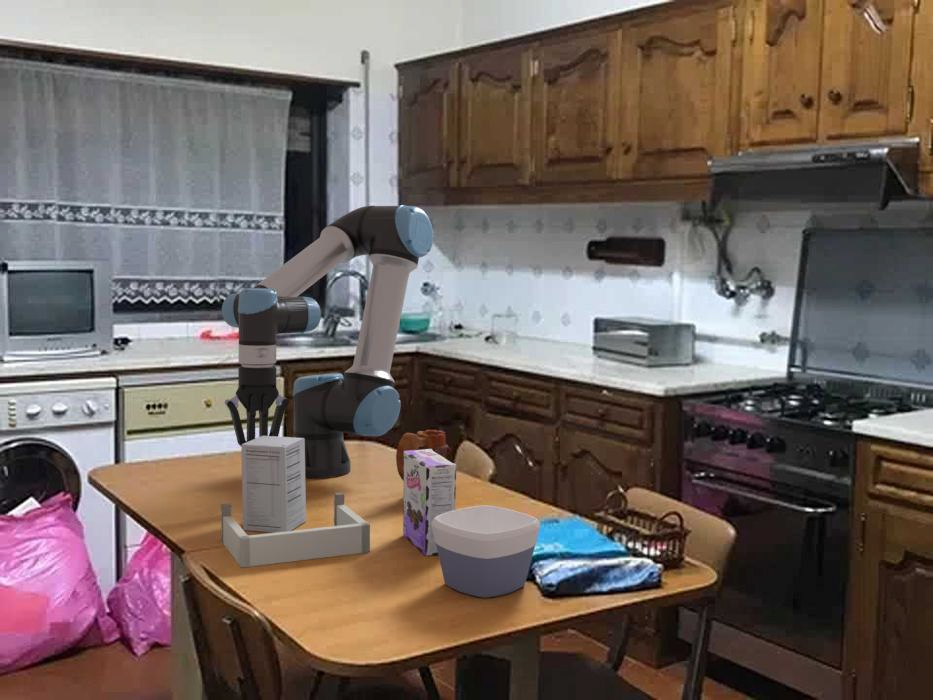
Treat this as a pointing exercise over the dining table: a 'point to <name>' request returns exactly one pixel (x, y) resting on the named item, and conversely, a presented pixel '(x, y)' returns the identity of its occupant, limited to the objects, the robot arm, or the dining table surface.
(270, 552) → the bay
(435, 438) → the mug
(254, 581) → the dining table surface
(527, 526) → the bowl
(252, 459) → the supplement box
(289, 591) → the dining table surface
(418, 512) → the candy box
